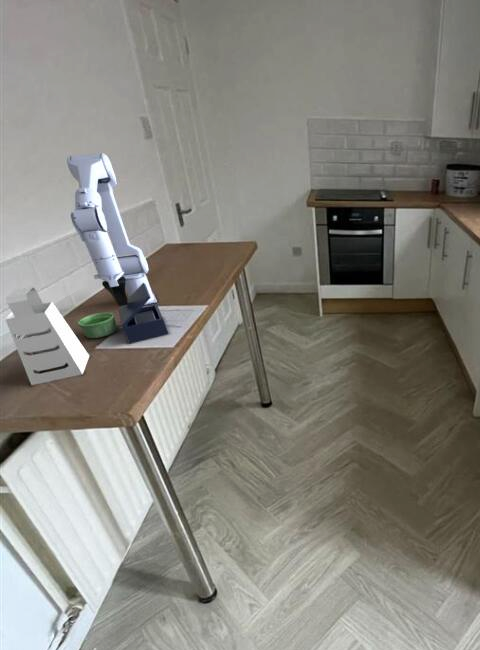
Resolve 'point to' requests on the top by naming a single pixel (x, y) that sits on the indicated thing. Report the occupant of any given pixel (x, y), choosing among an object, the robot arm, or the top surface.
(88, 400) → the top surface
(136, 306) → the cover
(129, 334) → the dark blue box
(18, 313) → the grater
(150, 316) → the phone
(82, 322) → the ramekin
